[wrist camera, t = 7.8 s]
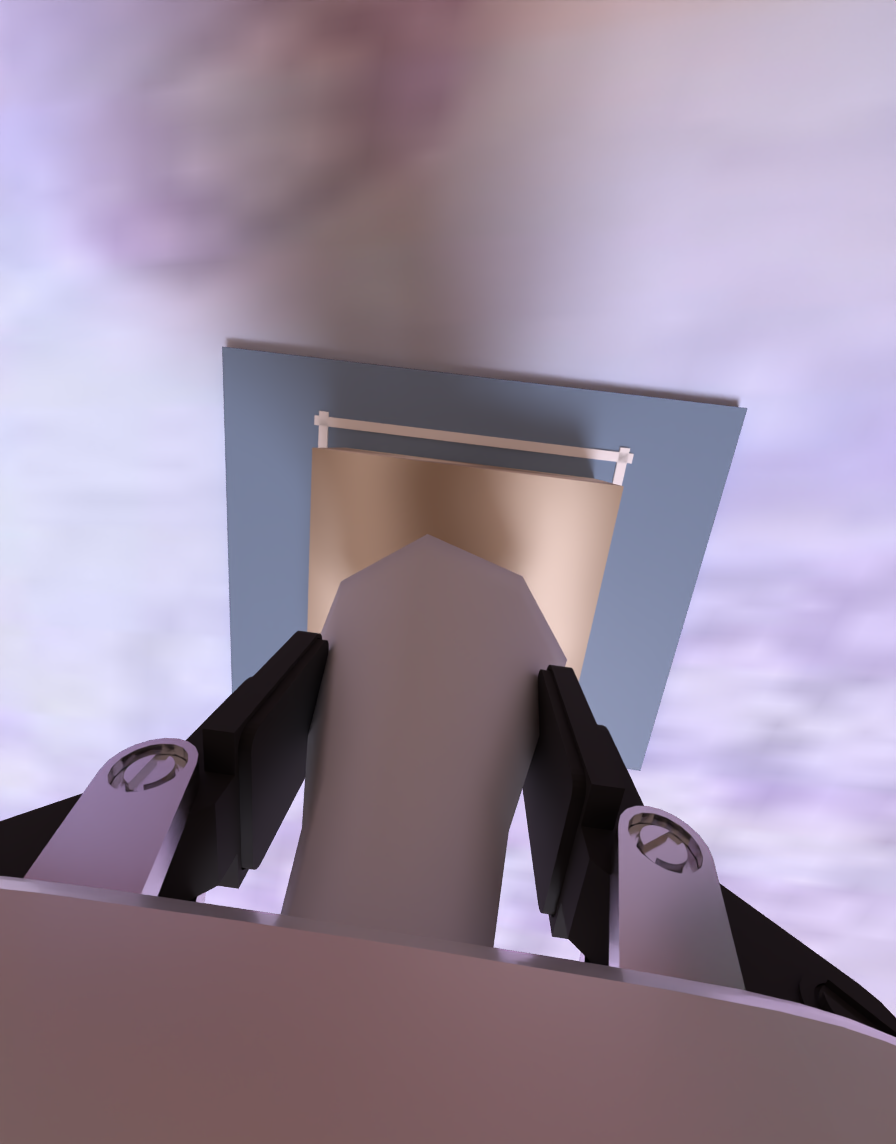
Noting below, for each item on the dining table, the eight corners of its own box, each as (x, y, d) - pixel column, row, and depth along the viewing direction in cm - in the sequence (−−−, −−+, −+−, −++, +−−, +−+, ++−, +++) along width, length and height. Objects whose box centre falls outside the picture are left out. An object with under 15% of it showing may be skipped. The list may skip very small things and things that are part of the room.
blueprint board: (738, 409, 18) (748, 407, 17) (636, 762, 23) (640, 772, 23) (230, 349, 19) (220, 345, 18) (238, 705, 24) (231, 712, 23)
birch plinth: (594, 478, 19) (623, 486, 15) (548, 698, 22) (562, 751, 18) (345, 447, 19) (312, 447, 15) (334, 668, 22) (305, 714, 18)
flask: (425, 485, 12) (191, 662, 2) (609, 654, 13) (1026, 1301, 3) (272, 659, 13) (-238, 1191, 4) (444, 795, 14) (382, 1483, 5)
